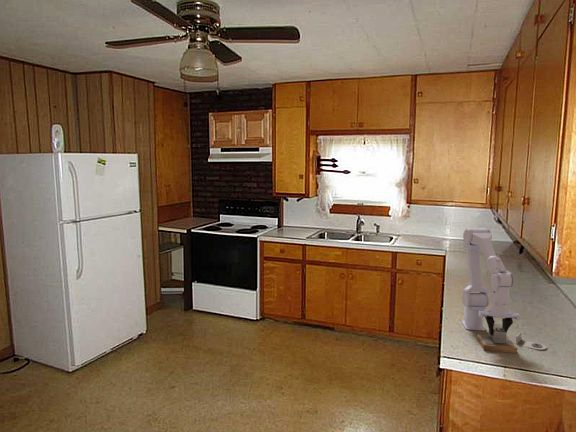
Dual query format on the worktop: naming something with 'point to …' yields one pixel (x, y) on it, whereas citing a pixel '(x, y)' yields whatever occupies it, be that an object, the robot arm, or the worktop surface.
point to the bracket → (531, 344)
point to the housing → (498, 334)
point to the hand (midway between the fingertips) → (497, 334)
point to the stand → (496, 344)
